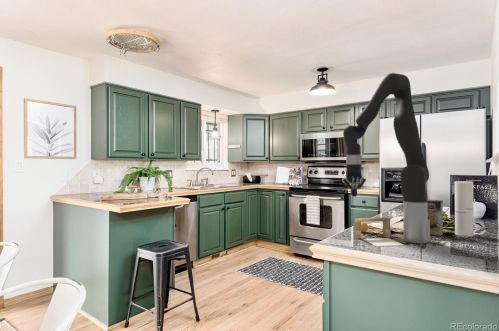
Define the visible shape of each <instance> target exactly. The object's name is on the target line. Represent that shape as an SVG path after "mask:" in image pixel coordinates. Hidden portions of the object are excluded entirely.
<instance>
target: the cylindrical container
mask: <svg viewBox="0 0 499 331" xmlns="http://www.w3.org/2000/svg"><path fill="white" fill-rule="evenodd" d="M474 212H475V211H474V181H469V180H468V181H466V180H465V181H460V180H459V181H456V180H455V181H454V235H457V236H460V237H467V238H468V237H474V234H475V232H474V229H475V224H474V223H475V222H474V217H475V216H474Z"/></svg>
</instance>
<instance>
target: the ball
mask: <svg viewBox="0 0 499 331" xmlns="http://www.w3.org/2000/svg"><path fill="white" fill-rule="evenodd" d="M368 230H369V226H368V223H367V222H361V233H366V232H367V231H368Z"/></svg>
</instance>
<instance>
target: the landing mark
mask: <svg viewBox="0 0 499 331" xmlns="http://www.w3.org/2000/svg"><path fill="white" fill-rule="evenodd" d="M362 240H363V241H364V242H367V243H369V244H370V245H372V246H375V247H400V246H401V247H402V246H403V247H404V246H405V244H403V243H400V242H399V241H397V240H394V239H391V238H386V237H384V238H383V237H382V238H381V237H380V238H362Z"/></svg>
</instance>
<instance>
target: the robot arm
mask: <svg viewBox="0 0 499 331" xmlns="http://www.w3.org/2000/svg"><path fill="white" fill-rule="evenodd" d="M411 89H412V88H411V82H410V78H409V77H408V76H406V75H405V74H402V73H397V72H391V73H387V74H386V75H385V76H384V77H383V78H382V80H381V81H380V83H379V85H378V86H377V88H376V90H375V92H374V94H373V95H372V97H371V99H370V100H369V102H368V103H367V105H365V107H364V108H363V110H361V112H360V113H359V115H358V116H357V117H356V119H355V122H356V125H347V126H345V127H344V128H343V132H342V135H343V140H344V143H345V147H346V157H345V158H346V159H345V160H346V161H345V167H346V168H345V170H346V171H345V172H346V174H345V177H343V178H342V179H341V182H342V183H343V184H344V185H345V187H346V188H347V189H350V196H351V197H355V198H356V197H357V196H358V189H362V186H364V183H365V182H366V181H367V179H366V178H364V176H363V175H362V157H361V156H362V154H361V153H362V152H361V150H362V149H361V148H362V147H361V145H360V144H359V143H357V141H356V140H359V139H361V138H363V137H364V135H365V134H366V132H367V129H368V128H369V126H370V125H371V124H372V123H373V121H374V120H376V117H377V116H378V114H379V112H380V110H381V106H382V104H383V103H384V102H385V100H386V99H387V98H388V97H390V95H392V96H393V97H394V101H395V104H396V111H395V114H394V118H393V130H394V134H395V138H396V141H397V143H398V145H399V147H400V148H401V150H402V152H403V154H404V155H403V156H404V157H405V163H406V166H404V167H403V168H402V170H401V173H400V188H401V189H400V191H401V196H402V205H403V206H402V207H403V208H402V209H403V214H402V215H403V221H402V222H403V224H402V225H403V240H404V241H405V242H408V243H412V244H427V243H430V242H431V234H430V220H428V213H427V200H428V195H427V194H426V191H425V190H426V189H425V184H426V183H427V182H428V181H429V179H430V171H429V167H428V166H427V162H426V160H425V157H424V153H423V149H422V143H421V138H420V132H419V126H418V122H417V118H416V114H415V109H414V105H413V99H412V90H411Z"/></svg>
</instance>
